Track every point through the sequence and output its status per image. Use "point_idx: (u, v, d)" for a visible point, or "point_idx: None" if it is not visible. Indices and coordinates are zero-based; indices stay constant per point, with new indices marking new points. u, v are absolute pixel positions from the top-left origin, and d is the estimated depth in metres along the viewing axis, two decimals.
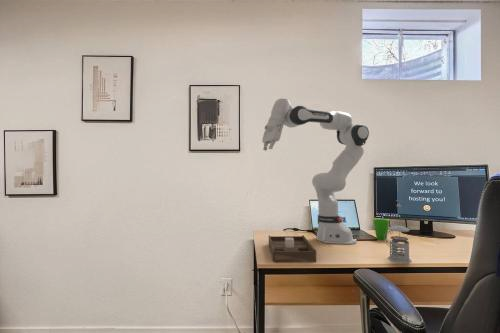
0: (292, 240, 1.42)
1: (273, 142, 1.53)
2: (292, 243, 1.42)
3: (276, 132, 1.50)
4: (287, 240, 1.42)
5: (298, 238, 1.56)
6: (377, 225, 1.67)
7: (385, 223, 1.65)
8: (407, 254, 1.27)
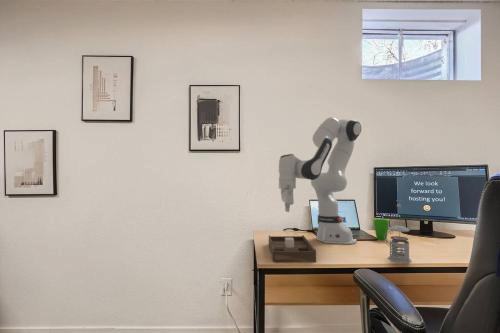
0: (292, 240, 1.42)
1: (288, 205, 1.48)
2: (292, 243, 1.42)
3: (287, 197, 1.41)
4: (287, 240, 1.42)
5: (298, 238, 1.56)
6: (377, 225, 1.67)
7: (385, 223, 1.65)
8: (407, 254, 1.27)
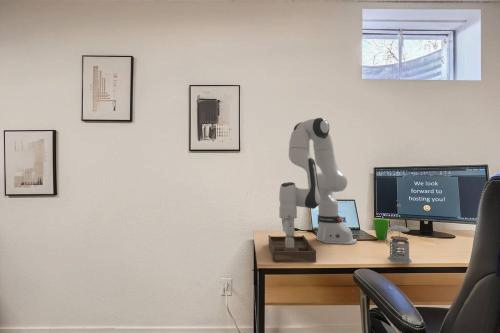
0: (292, 240, 1.41)
1: None
2: (292, 243, 1.41)
3: (288, 228, 1.37)
4: (287, 240, 1.41)
5: (298, 238, 1.56)
6: (377, 225, 1.67)
7: (385, 223, 1.65)
8: (407, 254, 1.27)
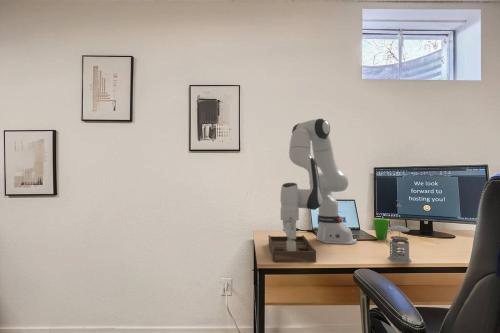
0: (294, 243, 1.35)
1: None
2: (294, 247, 1.35)
3: (290, 231, 1.31)
4: (288, 243, 1.35)
5: (298, 238, 1.56)
6: (377, 225, 1.67)
7: (385, 223, 1.65)
8: (407, 254, 1.27)
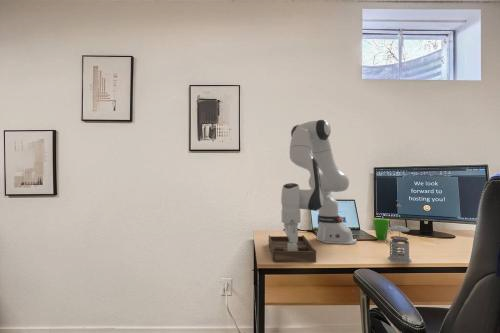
0: (295, 246, 1.31)
1: None
2: (295, 249, 1.31)
3: (291, 235, 1.26)
4: (290, 246, 1.31)
5: (298, 238, 1.56)
6: (377, 225, 1.67)
7: (385, 223, 1.65)
8: (407, 254, 1.27)
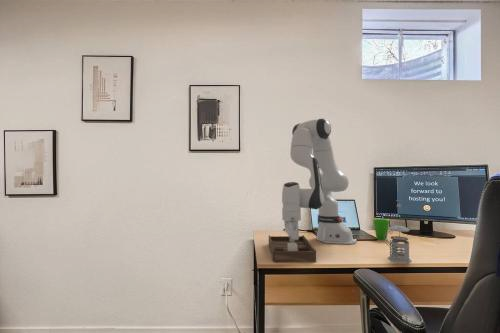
0: (295, 246, 1.31)
1: None
2: (295, 249, 1.31)
3: (292, 232, 1.28)
4: (290, 246, 1.31)
5: None
6: (377, 225, 1.67)
7: (385, 223, 1.65)
8: (407, 254, 1.27)
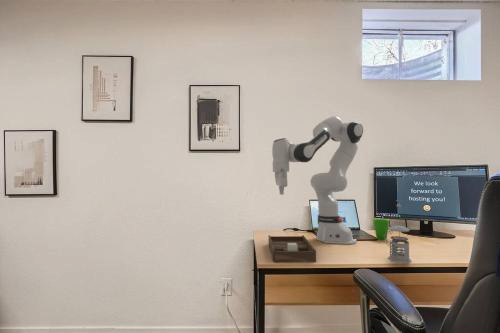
0: (295, 246, 1.31)
1: (282, 187, 1.52)
2: (295, 249, 1.31)
3: (281, 179, 1.44)
4: (290, 246, 1.31)
5: (298, 238, 1.56)
6: (377, 225, 1.67)
7: (385, 223, 1.65)
8: (407, 254, 1.27)
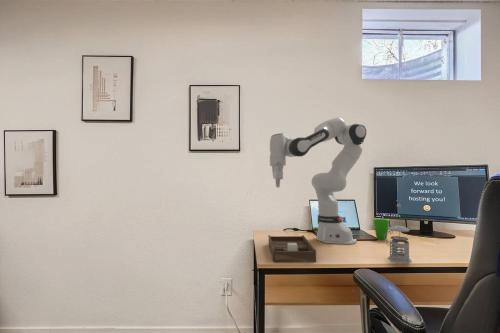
0: (295, 246, 1.31)
1: (278, 180, 1.58)
2: (295, 249, 1.31)
3: (277, 172, 1.51)
4: (290, 246, 1.31)
5: (298, 238, 1.56)
6: (377, 225, 1.67)
7: (385, 223, 1.65)
8: (407, 254, 1.27)
